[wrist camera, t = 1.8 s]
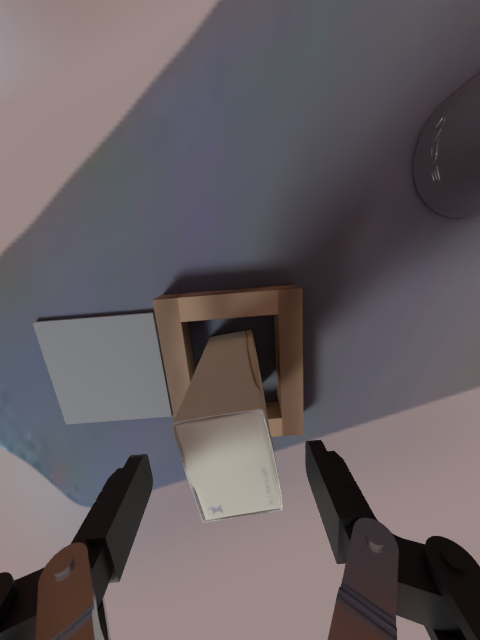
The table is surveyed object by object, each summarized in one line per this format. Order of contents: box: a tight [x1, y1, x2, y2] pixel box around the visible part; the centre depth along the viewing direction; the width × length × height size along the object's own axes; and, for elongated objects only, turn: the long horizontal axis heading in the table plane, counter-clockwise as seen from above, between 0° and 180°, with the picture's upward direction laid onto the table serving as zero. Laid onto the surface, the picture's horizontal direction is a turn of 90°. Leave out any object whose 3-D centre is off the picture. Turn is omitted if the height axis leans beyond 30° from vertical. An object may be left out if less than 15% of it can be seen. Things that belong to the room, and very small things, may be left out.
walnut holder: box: [152, 284, 303, 437], centre depth 21 cm, size 12×14×2 cm
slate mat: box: [33, 312, 173, 424], centre depth 22 cm, size 11×11×1 cm
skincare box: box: [172, 330, 283, 523], centre depth 17 cm, size 6×4×12 cm
